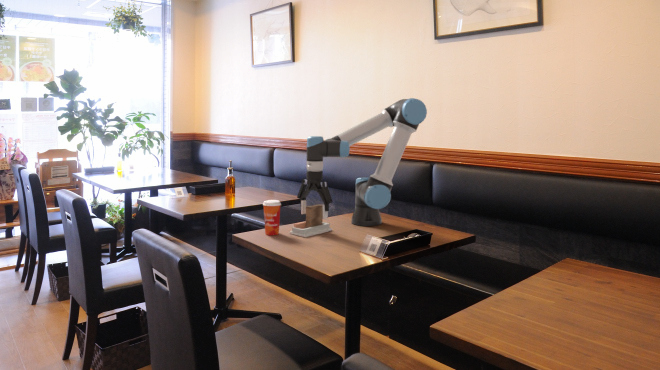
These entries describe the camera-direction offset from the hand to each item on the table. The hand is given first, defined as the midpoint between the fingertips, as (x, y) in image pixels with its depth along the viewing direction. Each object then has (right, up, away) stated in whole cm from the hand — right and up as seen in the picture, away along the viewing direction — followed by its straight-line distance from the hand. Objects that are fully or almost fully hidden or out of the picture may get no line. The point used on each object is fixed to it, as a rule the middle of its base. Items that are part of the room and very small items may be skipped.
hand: (314, 216), depth 225 cm
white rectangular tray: (-1, -7, 0) cm, 7 cm away
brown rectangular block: (0, -6, +1) cm, 6 cm away
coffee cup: (-19, -8, -5) cm, 21 cm away
